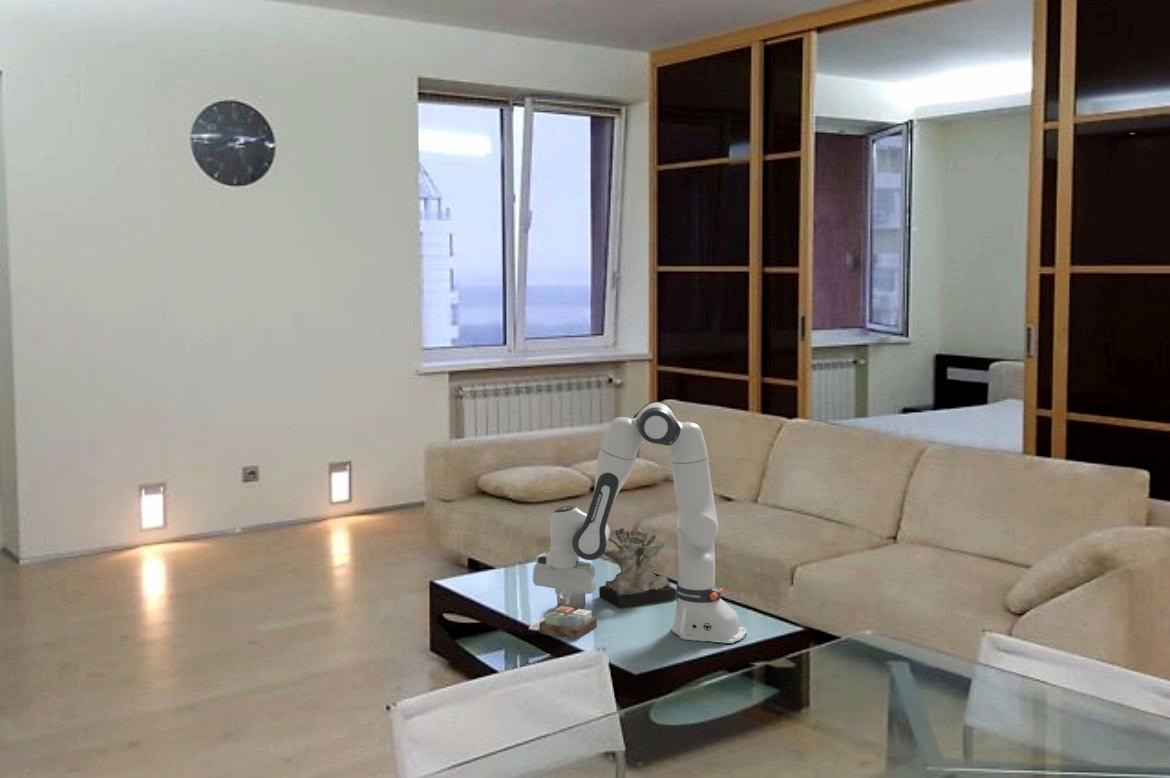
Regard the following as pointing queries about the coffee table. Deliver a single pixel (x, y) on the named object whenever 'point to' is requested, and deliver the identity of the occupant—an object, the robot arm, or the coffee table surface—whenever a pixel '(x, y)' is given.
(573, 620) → the key slate
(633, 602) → the coral
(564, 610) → the key terracotta
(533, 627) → the card
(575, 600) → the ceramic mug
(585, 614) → the key ivory
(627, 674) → the coffee table surface
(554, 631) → the keypad base
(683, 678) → the coffee table surface
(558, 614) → the key sage
